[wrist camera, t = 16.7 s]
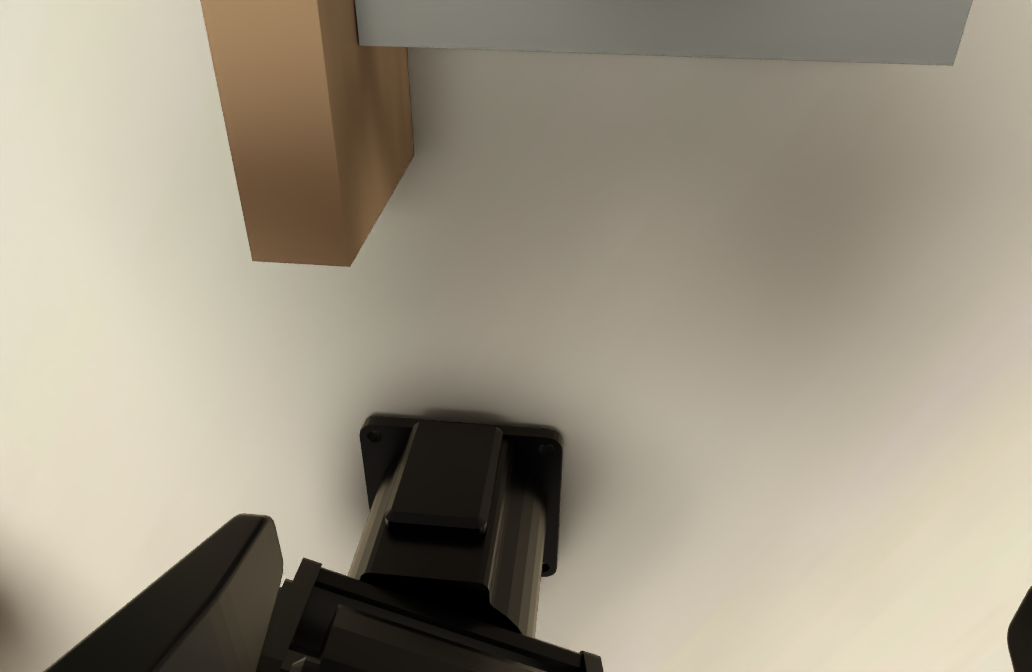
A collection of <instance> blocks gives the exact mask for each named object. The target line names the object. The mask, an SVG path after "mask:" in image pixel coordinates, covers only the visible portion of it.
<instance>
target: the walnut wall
mask: <svg viewBox="0 0 1032 672" xmlns="http://www.w3.org/2000/svg"><path fill="white" fill-rule="evenodd" d="M200 1H201V6H202V11H203V16H204V21H205V26H206V31H207V36H208V41H209V46H210V51H211V56H212V61H213V66H214V71H215V76H216V81H217V86H218V91H219V96H220V101H221V106H222V111H223V116H224V121H225V126H226V131H227V136H228V141H229V146H230V151H231V156H232V161H233V166H234V171H235V176H236V181H237V186H238V191H239V196H240V201H241V206H242V211H243V216H244V221H245V226H246V231H247V236H248V241H249V246H250V251H251V256H252V261H260V262H278V263H295V264H312V265H329V266H347V267H350V266H351V264H352V262H353V261H354V259H355V257H356V255H357V254H358V252H359V250H360V248H361V247H362V245H363V243H364V241H365V240H366V238H367V236H368V235H369V233H370V231H371V229H372V228H373V226H374V224H375V222H376V221H377V219H378V217H379V215H380V214H381V212H382V210H383V208H384V207H385V205H386V203H387V202H388V200H389V198H390V196H391V195H392V193H393V191H394V189H395V188H396V186H397V184H398V182H399V181H400V179H401V177H402V175H403V174H404V172H405V170H406V169H407V167H408V165H409V163H410V162H411V160H412V158H413V156H414V148H413V133H412V119H411V104H410V89H409V75H408V60H407V47H393V46H364V45H359V35H358V25H357V15H356V5H355V0H200Z"/></svg>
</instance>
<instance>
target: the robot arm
mask: <svg viewBox="0 0 1032 672" xmlns="http://www.w3.org/2000/svg"><path fill="white" fill-rule="evenodd" d="M373 430H375V431H378V432H380V433H381V434H380V435H378V434H375V433H373V432H372V431H373ZM360 442H361V449H362V457H363V464H364V471H365V479H366V486H367V494H368V501H369V509H370V513H369V516H368V519H367V522H366V525H365V528H364V530H363V533H362V536H361V539H360V542H359V545H358V548H357V550H356V553H355V556H354V559H353V562H352V565H351V568H350V570H349V573H348V576H346V575H343V574H340V573H337V572H334V571H331V570H328V569H325V568H322V567H321V566H322V564H321V563H318V562H315V561H312V560H309V559H306V558H303V559H302V562H301V564H300V566H299V568H298V571H297V573H296V575H295V577H294V580H293V581H292V580H289V579H285V581H284V584H283V586H282V587H280V588H279V586H280V583H281V579H282V573H283V558H282V553H281V549H280V544H279V540H278V536H277V531H276V527H275V524H274V521H273V519H272V518H271V517H270V516H267V515H256V514H239V515H237V516H235V517H233V518H232V519H231V520H229V521H228V522H227V523H226V524H224V525H223V526H222V527H221V528H220V529H218V530H217V531H216V532H215V533H213V534H212V535H211V536H210V537H209V538H207V539H206V540H205V541H204V542H202V543H201V544H200V545H199V546H197V547H196V548H195V549H194V550H193V551H191V552H190V553H189V554H188V555H186V556H185V557H184V558H183V559H181V560H180V561H179V562H178V563H177V564H175V565H174V566H173V567H172V568H170V569H169V570H168V571H167V572H165V573H164V574H163V575H162V576H161V577H159V578H158V579H157V580H156V581H154V582H153V583H152V584H151V585H149V586H148V587H147V588H146V589H145V590H143V591H142V592H141V593H140V594H138V595H137V596H136V597H135V598H133V599H132V600H131V601H130V602H129V603H127V604H126V605H125V606H124V607H122V608H121V609H120V610H119V611H118V612H116V613H115V614H114V615H113V616H111V617H110V618H109V619H108V620H106V621H105V622H104V623H103V624H102V625H100V626H99V627H98V628H97V629H95V630H94V631H93V632H92V633H90V634H89V635H88V636H87V637H86V638H84V639H83V640H82V641H81V642H79V643H78V644H77V645H76V646H74V647H73V648H72V649H71V650H70V651H68V652H67V653H66V654H65V655H63V656H62V657H61V658H60V659H58V660H57V661H56V662H55V663H54V664H52V665H51V666H50V667H49V668H47V669H46V670H45V671H44V672H603V667H602V661H601V657H600V656H597V655H594V654H591V653H588V652H585V651H580V653H577V652H574V651H571V650H568V649H565V648H562V647H559V646H556V645H553V644H550V643H547V642H544V641H541V640H538V639H535V630H536V620H537V610H538V600H539V591H540V581H541V577H548V576H551V575H553V574H554V573H555V572H556V569H557V559H558V539H559V519H560V499H561V480H562V460H563V438H562V437H561V435H560V434H559V433H557V432H556V431H554V430H549V429H538V428H525V427H511V426H498V425H484V424H471V423H457V422H444V421H431V420H417V419H404V418H390V417H370V418H368V419H366V420H365V422H364V423H363V425H362V428H361V430H360ZM546 443H547V444H551V445H552V447H544V446H542V444H546ZM542 562H543V563H542ZM1007 642H1008V649H1009V653H1010V657H1011V661H1012V665H1013V669H1014V672H1032V586H1031V587H1030V588H1029V590H1028V592H1027V594H1026V595H1025V597H1024V599H1023V601H1022V603H1021V604H1020V606H1019V608H1018V610H1017V612H1016V614H1015V615H1014V617H1013V619H1012V621H1011V623H1010V625H1009V628H1008V632H1007Z"/></svg>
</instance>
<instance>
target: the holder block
mask: <svg viewBox="0 0 1032 672" xmlns="http://www.w3.org/2000/svg"><path fill="white" fill-rule="evenodd" d="M972 1H973V0H355V5H356V15H357V25H358V35H359V45H364V46H393V47H422V48H451V49H480V50H510V51H539V52H568V53H597V54H626V55H655V56H684V57H714V58H743V59H772V60H801V61H830V62H859V63H888V64H918V65H947V66H953V64H954V60H955V57H956V54H957V51H958V47H959V44H960V41H961V37H962V34H963V31H964V27H965V24H966V21H967V17H968V14H969V11H970V8H971V4H972Z"/></svg>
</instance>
